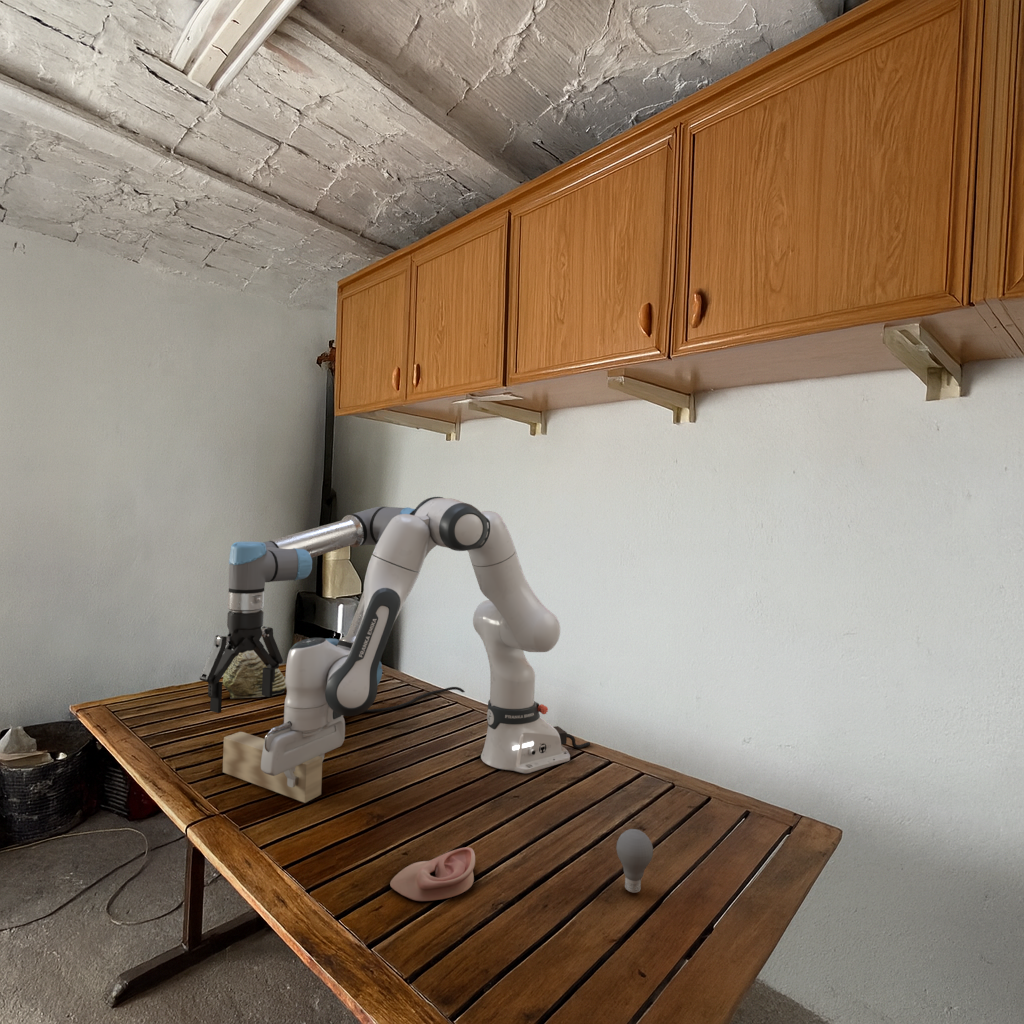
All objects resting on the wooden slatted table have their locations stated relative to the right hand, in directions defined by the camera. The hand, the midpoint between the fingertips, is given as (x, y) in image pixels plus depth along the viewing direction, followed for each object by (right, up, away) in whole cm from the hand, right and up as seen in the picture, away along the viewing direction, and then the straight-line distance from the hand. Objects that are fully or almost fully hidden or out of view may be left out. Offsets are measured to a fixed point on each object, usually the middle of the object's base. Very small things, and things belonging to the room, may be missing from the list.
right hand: (303, 780), depth 134 cm
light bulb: (+64, -7, -29) cm, 71 cm away
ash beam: (-9, -3, +5) cm, 10 cm away
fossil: (-36, 0, +64) cm, 73 cm away
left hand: (-17, +13, +9) cm, 24 cm away
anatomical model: (+31, -5, -28) cm, 42 cm away
